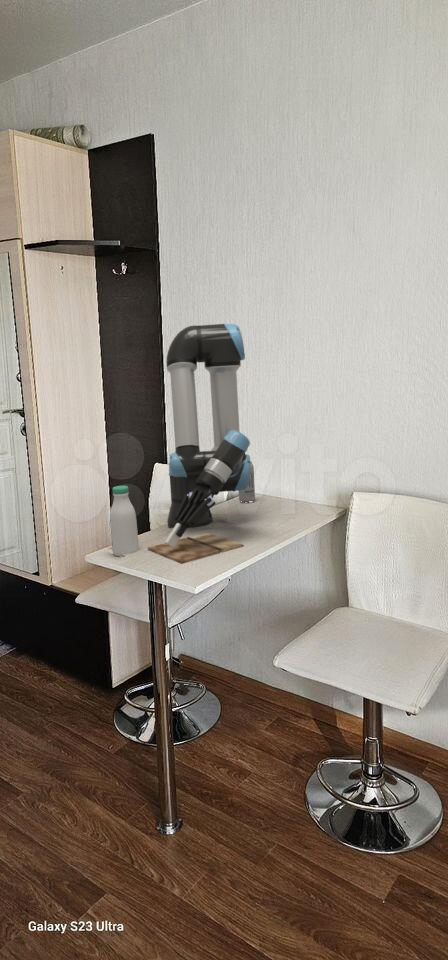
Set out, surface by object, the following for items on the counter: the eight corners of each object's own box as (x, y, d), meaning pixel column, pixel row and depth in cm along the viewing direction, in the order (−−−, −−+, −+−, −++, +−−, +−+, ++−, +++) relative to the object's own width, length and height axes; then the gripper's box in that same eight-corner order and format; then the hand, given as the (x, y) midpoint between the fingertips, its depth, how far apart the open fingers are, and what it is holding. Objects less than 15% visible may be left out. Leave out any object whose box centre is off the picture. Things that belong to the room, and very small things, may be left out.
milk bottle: (144, 552, 206) (139, 485, 202) (123, 558, 201) (117, 491, 197) (128, 547, 211) (123, 483, 207) (107, 554, 206) (101, 487, 202)
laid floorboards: (186, 543, 213) (186, 537, 212) (208, 537, 217) (207, 531, 217) (221, 555, 198) (221, 549, 198) (244, 549, 203) (243, 543, 202)
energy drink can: (247, 504, 257) (245, 464, 254) (235, 502, 261) (233, 462, 258) (258, 500, 261) (256, 461, 258) (246, 498, 265) (244, 460, 262)
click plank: (185, 542, 212) (148, 552, 205) (184, 538, 212) (147, 547, 204) (220, 555, 198) (181, 566, 190) (219, 550, 198) (181, 561, 190)
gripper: (234, 487, 201) (190, 556, 195) (208, 481, 211) (165, 546, 205) (218, 472, 197) (173, 542, 191) (192, 467, 207) (148, 533, 201)
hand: (169, 544), depth 198 cm, fingers closed
